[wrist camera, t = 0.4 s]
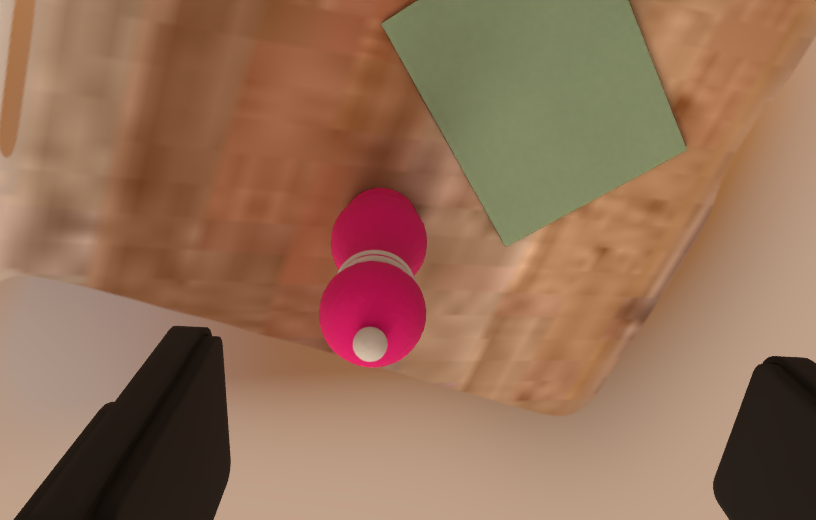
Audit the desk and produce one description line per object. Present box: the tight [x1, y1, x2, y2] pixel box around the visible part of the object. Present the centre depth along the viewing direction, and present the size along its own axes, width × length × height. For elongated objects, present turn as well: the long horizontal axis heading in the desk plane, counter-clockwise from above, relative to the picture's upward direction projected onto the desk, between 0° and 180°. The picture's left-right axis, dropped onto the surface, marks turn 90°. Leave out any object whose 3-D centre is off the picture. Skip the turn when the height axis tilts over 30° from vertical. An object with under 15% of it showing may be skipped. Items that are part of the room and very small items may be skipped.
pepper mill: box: [319, 188, 427, 367], centre depth 36 cm, size 7×7×20 cm
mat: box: [382, 0, 687, 247], centre depth 42 cm, size 20×16×1 cm
